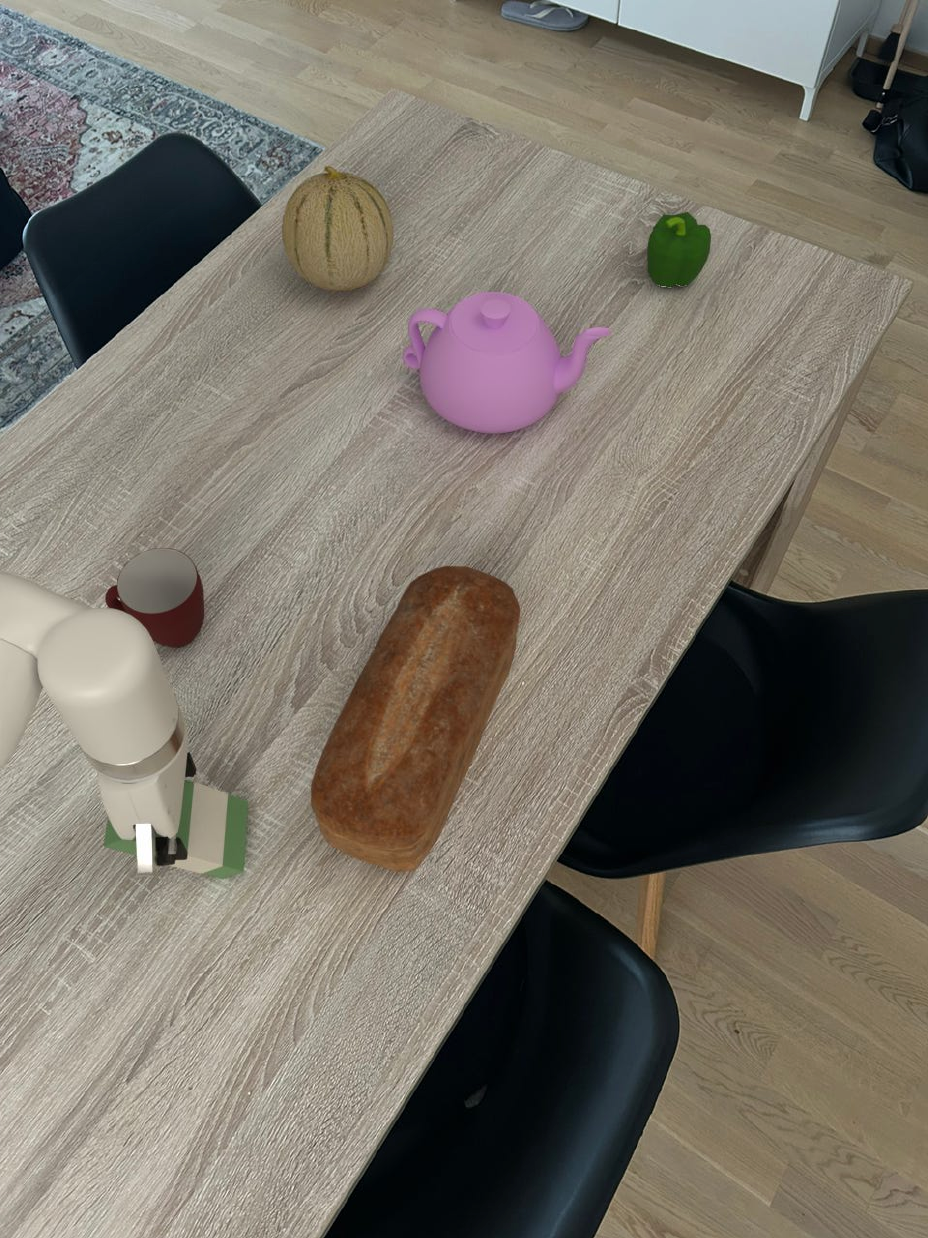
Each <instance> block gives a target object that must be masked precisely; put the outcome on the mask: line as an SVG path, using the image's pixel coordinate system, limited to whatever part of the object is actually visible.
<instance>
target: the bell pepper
mask: <svg viewBox="0 0 928 1238" xmlns="http://www.w3.org/2000/svg"><path fill="white" fill-rule="evenodd" d="M711 243H712V234H711V229H710V228H709V227H708V226H707V225H706V224H699V223H698V221H697V219H696V218H695V217H694V216H693V215H692V214H691V213H689V212H688V211H684V212H681V213H677V214H662V215H661V217H660V218H659V219H658V220H657V222H656V223H655V225H654V226H653V228H652V231H651V232H650V234H649V236H648V242H647V246H646V247H647V248H646V249H647V250H646V251H647V252H646V258H647V259H646V261H647V272H648V276H649V277H650V279H651V278H652V279H651V281H654V282H655V283H656V284H658V285H660V286H666V287H672V288H674V287H675V286H674V285H676V284H677V285H680V286H685V285H687V286H689V285H690V284H691V283H693V281H695V280H696V279H697V278H698V276H699V274H700V273H701V272H702V269H703V268H704V266H705V265H706V264H707V262H708V258H709V255H710V251H711ZM654 282H653V283H654ZM655 283H654V284H655ZM656 284H655V285H656ZM688 284H689V285H688ZM658 285H657V286H658ZM673 286H674V287H673Z"/></svg>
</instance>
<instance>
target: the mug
mask: <svg viewBox="0 0 928 1238" xmlns="http://www.w3.org/2000/svg"><path fill="white" fill-rule="evenodd" d="M118 573H119V574H118V576H117V579H116V584H114V585H112V586H110V587H109V588H108V589H107V591H106V593H105V596H104V601H105V605H106V606H107V608H112V609H116V610H120V611H123V612H125V613H127V614H129V615H131V616H133V617H134V618H136V619H137V620H138V621H139V622H140V623H141V624H142V625H143V626H144V627H145V628H146V629H147V631H148V633H149V634H150V636H151V638H152V640H153V642H154V643H156V644H157V645H160V646H164V647H169V648H173V649H175V648H176V649H177V648H184V647H185V646H188V645H189V644H191V643H192V642H193V641H194V640H195V639H196V637H197V636H198V635H199V633H200V631H201V630H202V627H203V624H204V621H205V595H204V594H205V593H204V586H203V585H204V584H203V582H202V579H201V576H200V573H199V570H198V568H197V566H196V564H195V562H194V561H193V560H192V558H191V557H190V556H189V555H188V554H186V553H184V552H182V551H180V550H178V549H174V548H169V547H157V548H156V547H155V548H151V549H147V550H145V551H142V552H140V553H137V554H136V555H135V556H133V557H132V558H130V559H129V560H128V561H127V562H126V563H125V564H124V565H123V567H122V568H121V570H120V571H119V572H118Z"/></svg>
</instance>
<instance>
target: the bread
mask: <svg viewBox="0 0 928 1238" xmlns="http://www.w3.org/2000/svg"><path fill="white" fill-rule="evenodd" d="M520 619H521V606H520V603H519V600H518V598H517V596H516V594H515V591H514V589H513V588H512V587H511V586H510V584H508V583H507V582H505V581H504V580H502V579H500V578H498V577H496V576H494V575H491V574H489V573H487V572H484V571H482V570H478V569H476V568H473V567H470V566H461V565H460V566H459V565H444V566H439V567H434V568H433V569H431V570H429V571H427V572H425V573H423V574H421V575H418V576H417V577H416V578H414V579H413V580H412V581H411V582H409V584H408V585H407V588H406V589H405V590H404V592H403V594H402V595H401V597H400V599H399V602H398V604H397V606H396V608H395V611H394V612H393V614H392V615H391V617H390V618H389V620H388V622H386V625H385V627H384V628H383V631H382V632H381V634H380V635H379V637H378V640H377V642H376V644H375V646H374V649H373V650H372V653H370V656H369V657H368V659H367V661H366V663H365V664H364V666H363V668H362V670H361V672H360V674H359V675H358V678H357V680H356V681H355V683H354V685H353V687H352V689H351V692H350V693H349V695H348V697H347V700H346V702H345V704H344V705H343V708H342V710H341V712H340V713H339V715H338V717H337V719H336V721H335V723H334V726H333V728H332V730H331V732H330V734H329V735H328V738H327V740H326V743H325V745H324V747H323V749H322V751H321V754H320V757H319V759H318V762H317V764H316V768H315V771H314V775H313V777H312V781H311V784H310V807H311V809H312V811H313V813H314V816H315V817H314V818H315V820H316V822H317V824H318V827H319V833H320V834H321V835H322V837H323V838H324V841H326V843H327V845H329V846H330V847H333V848H334V849H336V850H338V851H340V852H342V853H344V854H346V855H348V856H350V857H353V858H354V859H357V860H359V861H361V862H364V863H367V864H371V865H373V866H377V867H379V868H380V867H381V868H384V869H386V870H390V871H394V872H397V873H402V872H411V871H415V870H416V869H417V868H418V867H419V866H420V864H421V863H422V862H423V861H424V860H425V859H426V857H427V856H428V855H429V853H430V852H431V850H432V849H433V847H434V846H435V844H436V842H437V840H438V838H439V836H440V834H441V832H442V830H443V828H444V825H445V823H446V820H447V818H448V816H449V813H450V811H451V808H452V806H453V804H454V801H455V799H456V797H457V794H458V792H459V789H460V787H461V785H462V782H463V781H464V779H465V777H466V774H467V772H468V770H469V769H470V766H471V763H472V760H473V759H474V756H475V754H476V752H477V749H478V747H479V745H480V743H481V740H482V737H483V734H484V731H485V729H486V726H487V723H488V721H489V718H490V716H491V713H492V710H493V708H494V706H495V705H496V704H495V703H496V701H497V699H498V697H499V694H500V693H501V690H502V688H503V686H504V684H505V682H506V680H507V677H508V675H509V674H510V671H511V668H512V664H513V662H514V658H515V653H516V649H517V633H518V629H519V624H520Z"/></svg>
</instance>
